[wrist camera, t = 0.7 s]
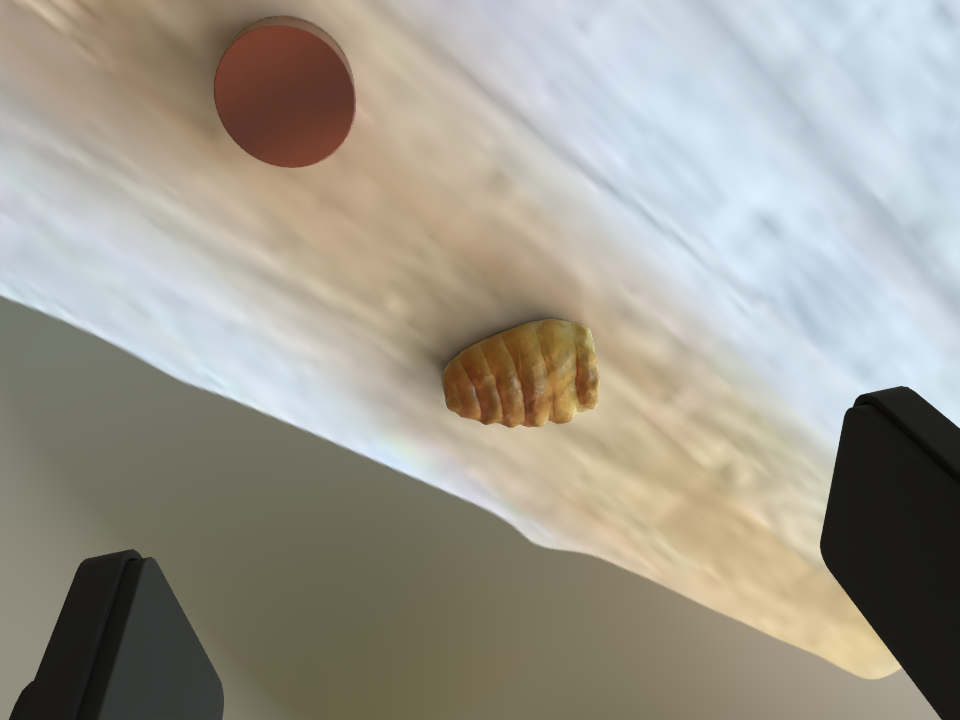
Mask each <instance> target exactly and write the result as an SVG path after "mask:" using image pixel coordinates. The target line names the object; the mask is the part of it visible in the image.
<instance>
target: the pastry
mask: <svg viewBox="0 0 960 720" xmlns="http://www.w3.org/2000/svg"><path fill="white" fill-rule="evenodd" d="M591 335H592V333H591V331H590V329H589V328H588V327H587V326H585V325H583V324H579V323H576V322H570V321H564V320H558V319H546V320H541V321H531V322H528V323H525V324H523V325H520V326H516V327H514V328H512V329H510V330H506V331H503V332H500V333H498V334H497V335H495V336H492V337H490V338H486V339H485V340H482V341H480V342H478V343H475V344H473V345H472V346H470V347H468V348H466V349H464V350H463V351H462V352H460V353H459V354H458V355H457V356H456V357H455V358H453V359H452V360H451V361H450V362H449V363H448V364H447V366H446V368H445V369H444V371H443V374H442V385H443V389H444V393H445V401H446V405H447V408H448V409H449V410H451V411H453V412H455V413H457V414H458V415H459V416H461V417H464V418H468V419H473V420H477V421H480V422H481V423H482V424H485V425H489V424H493V423H500V424H502V425H505V426H507V427H510V428H512V427H515V426H517V425H520V424H521V425H523V426H526V427H541V426H543V425H544V424H545V423H546V422H547V421H552V422H554V423H556V424H563V423H567V422H569V421H571V419H572V418H573V417H574V415H575V414H576V413H577V412H583V411H586V410H588V409H594V408H595V407H596V405H597V404H598V397H599V384H600V377H599V373H598V370H597V359H596V355H595V349H594V343H593V339H592V336H591Z"/></svg>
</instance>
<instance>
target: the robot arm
mask: <svg viewBox="0 0 960 720" xmlns="http://www.w3.org/2000/svg"><path fill="white" fill-rule="evenodd" d="M820 549H821V554H822V557H823V560H824V562H825V564H826V566H827V568H828V569H829V571H830V572H831V573H832V575H833V576H834V577H835V579H836V580H837V581H838V583H839V584H840V585H841V587H842V588H843V589H844V591H845V592H846V593H847V594H848V596H849V597H850V598H851V600H852V601H853V602H854V604H855V605H856V606H857V608H858V609H859V610H860V612H861V613H862V614H863V616H864V617H865V618H866V620H867V621H868V622H869V624H870V625H871V626H872V628H873V629H874V630H875V632H876V633H877V634H878V636H879V637H880V638H881V640H882V641H883V642H884V644H885V645H886V646H887V648H888V649H889V650H890V652H891V653H892V654H893V656H894V657H895V658H896V660H897V661H898V662H899V664H900V665H901V666H902V668H903V669H904V670H905V671H906V673H907V674H908V675H909V677H910V678H911V679H912V681H913V682H914V683H915V685H916V686H917V687H918V689H919V690H920V691H921V693H922V694H923V695H924V697H925V698H926V699H927V701H928V702H929V703H930V705H931V706H932V707H933V709H934V710H935V711H936V713H937V714H938V715H939V717H940V718H941V719H942V720H960V428H959V427H957V426H956V425H955V424H954V423H952V422H951V421H950V420H949V419H948V418H946V417H945V416H944V415H943V414H942V413H940V412H939V411H938V410H937V409H935V408H934V407H933V406H932V405H931V404H929V403H928V402H927V401H926V400H925V399H923V398H922V397H921V396H920V395H918V394H917V393H916V392H915V391H913V390H912V389H910V388H908V387H903V386H899V387H895V388H890V389H885V390H880V391H876V392H871V393H866V394H863V395H860V396H859V397H858V398H857V399H856V400H855V403H854V406H853V407H852V408H849V409H848V410H847V411H846V413H845V416H844V421H843V426H842V431H841V436H840V441H839V447H838V452H837V457H836V462H835V468H834V473H833V478H832V483H831V488H830V494H829V499H828V504H827V509H826V514H825V520H824V525H823V530H822V535H821V540H820ZM223 708H224V696H223V688H222V684H221V681H220V678H219V677H218V675H217V673H216V671H215V669H214V667H213V665H212V663H211V662H210V660H209V658H208V656H207V654H206V653H205V651H204V649H203V647H202V645H201V643H200V641H199V639H198V637H197V636H196V634H195V632H194V630H193V628H192V627H191V624H190V623H189V621H188V619H187V617H186V615H185V614H184V612H183V610H182V608H181V606H180V604H179V602H178V600H177V599H176V597H175V595H174V593H173V591H172V589H171V587H170V586H169V584H168V582H167V580H166V578H165V576H164V574H163V573H162V571H161V569H160V567H159V565H158V563H157V562H156V561H155V559H153V558H152V557H149V558H144V559H143V558H142V557H141V555H140V554H139V553H138V552H137V551H135V550H134V549H132V550H126V551H121V552H116V553H111V554H107V555H102V556H98V557H93V558H88V559H85V560H84V561H83V562H81V564H80V566H79V567H78V569H77V572H76V574H75V577H74V579H73V582H72V584H71V587H70V590H69V592H68V595H67V597H66V600H65V602H64V605H63V608H62V610H61V613H60V615H59V618H58V620H57V623H56V625H55V628H54V630H53V633H52V636H51V638H50V641H49V643H48V646H47V648H46V651H45V654H44V656H43V659H42V661H41V664H40V666H39V669H38V672H37V674H36V677H35V679H34V681H32V682H31V683H30V684H28V685H27V686H26V687H25V688H24V690H23V691H22V692H21V694H20V696H19V698H18V700H17V702H16V704H15V706H14V708H13V711H12V713H11V716H10V718H9V720H222V717H223Z"/></svg>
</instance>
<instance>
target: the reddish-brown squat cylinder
mask: <svg viewBox="0 0 960 720" xmlns="http://www.w3.org/2000/svg"><path fill="white" fill-rule="evenodd" d="M214 98H215V104H216V108H217V111H218V114H219V117H220V119H221V121H222V124H223V126H224V127H225V129H226V130H227V132H228V134H229V135H230V136H231V137H232V139H233V140H234V141H235V142H236V143H237V144H238V145H239V146H240V147H241V148H242V149H243V150H245V151H246V152H247V153H248V154H250V155H252V156H253V157H255V158H257V159H259V160H261V161H263V162H265V163H268V164H271V165H275V166H280V167H289V168H295V167H304V166H309V165H312V164H315V163H318V162H320V161H322V160H324V159H326V158H327V157H329V156H330V155H332V154H333V153H334V152H335V151H336V150H337V149H338V148H339V147H340V146H341V145H342V144H343V142H344V141H345V139H346V138H347V136H348V134H349V132H350V130H351V128H352V125H353V121H354V117H355V111H356V97H355V88H354V80H353V75H352V71H351V68H350V65H349V62H348V60H347V58H346V56H345V54H344V52H343V51H342V49H341V48H340V46H339V45H338V44H337V43H336V42H335V40H334V39H333V38H332V37H331V36H330V35H329V34H327V33H326V32H325V31H324V30H322V29H321V28H319V27H318V26H316V25H314V24H312V23H310V22H308V21H305V20H303V19H299V18H295V17H288V16H274V17H268V18H264V19H261V20H258V21H256V22H254V23H252V24H250V25H249V26H248V27H246V28H245V29H243V30H242V31H241V32H240V33H239V34H238V35H237V36H236V38H235V39H234V40H233V42H232V43H231V44H230V46H229V47H228V48H227V50H226V51H225V53H224V54H223V56H222V58H221V60H220V62H219V65H218V67H217V70H216V75H215V80H214Z"/></svg>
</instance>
